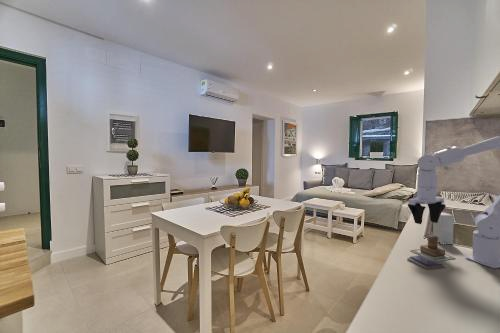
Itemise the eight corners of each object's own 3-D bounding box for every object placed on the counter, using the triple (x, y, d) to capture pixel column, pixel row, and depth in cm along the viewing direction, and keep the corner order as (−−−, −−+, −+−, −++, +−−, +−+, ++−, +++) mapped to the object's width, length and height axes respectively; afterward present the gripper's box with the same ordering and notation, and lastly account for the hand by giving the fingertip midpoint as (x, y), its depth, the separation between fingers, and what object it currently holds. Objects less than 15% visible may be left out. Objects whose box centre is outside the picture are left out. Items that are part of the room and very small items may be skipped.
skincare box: (453, 245, 92) (454, 215, 91) (441, 244, 92) (442, 215, 92) (444, 240, 98) (444, 212, 97) (432, 239, 98) (433, 211, 98)
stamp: (431, 250, 85) (431, 233, 85) (445, 256, 80) (445, 238, 80) (420, 251, 84) (420, 234, 84) (433, 257, 79) (433, 239, 79)
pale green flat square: (429, 248, 88) (429, 247, 88) (455, 258, 79) (455, 257, 79) (410, 251, 86) (410, 249, 86) (434, 261, 77) (434, 259, 77)
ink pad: (423, 258, 80) (423, 254, 80) (445, 267, 73) (445, 263, 73) (407, 260, 78) (407, 256, 78) (427, 269, 71) (427, 265, 71)
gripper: (431, 185, 92) (430, 219, 92) (401, 186, 88) (401, 221, 89) (450, 187, 85) (449, 223, 85) (418, 188, 81) (418, 226, 82)
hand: (426, 222), depth 86 cm, fingers open, 7 cm apart
